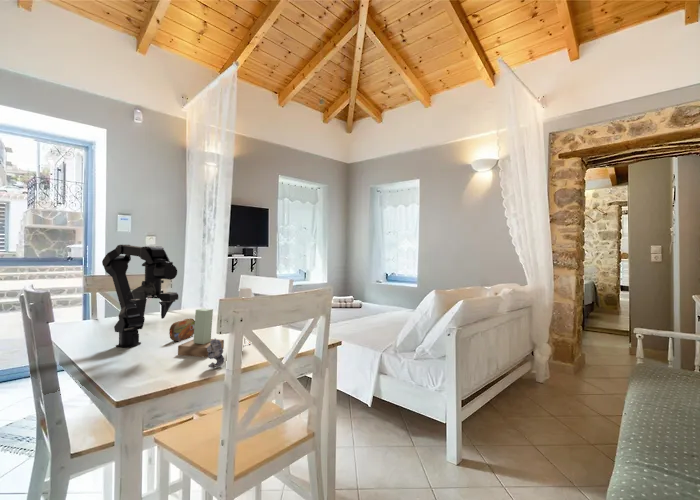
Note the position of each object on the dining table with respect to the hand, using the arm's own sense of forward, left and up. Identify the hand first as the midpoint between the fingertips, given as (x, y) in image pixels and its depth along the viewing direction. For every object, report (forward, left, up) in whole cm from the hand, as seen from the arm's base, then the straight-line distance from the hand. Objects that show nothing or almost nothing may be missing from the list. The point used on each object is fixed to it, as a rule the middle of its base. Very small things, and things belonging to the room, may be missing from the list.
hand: (152, 317), depth 135 cm
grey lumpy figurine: (+34, -11, -13) cm, 38 cm away
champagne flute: (+30, +18, -13) cm, 37 cm away
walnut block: (+19, +4, -14) cm, 24 cm away
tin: (0, +19, -13) cm, 23 cm away
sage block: (+19, +4, -9) cm, 22 cm away
